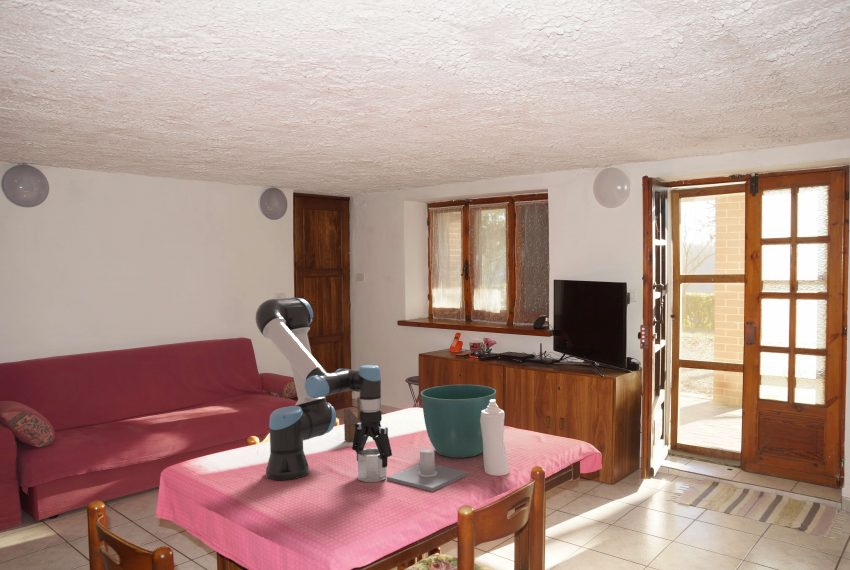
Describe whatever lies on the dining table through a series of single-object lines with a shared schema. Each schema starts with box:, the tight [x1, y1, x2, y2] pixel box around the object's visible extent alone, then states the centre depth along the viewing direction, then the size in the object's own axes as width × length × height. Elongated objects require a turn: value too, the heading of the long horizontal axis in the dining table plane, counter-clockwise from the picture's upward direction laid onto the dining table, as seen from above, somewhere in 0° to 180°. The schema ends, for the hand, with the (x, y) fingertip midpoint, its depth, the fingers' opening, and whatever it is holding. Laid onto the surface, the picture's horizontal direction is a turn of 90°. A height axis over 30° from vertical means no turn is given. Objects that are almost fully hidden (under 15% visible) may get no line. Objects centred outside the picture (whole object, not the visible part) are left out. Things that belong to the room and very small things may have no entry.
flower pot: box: [420, 384, 497, 459], centre depth 243 cm, size 30×30×24 cm
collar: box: [357, 447, 387, 483], centre depth 214 cm, size 10×10×9 cm
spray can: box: [480, 399, 510, 477], centre depth 219 cm, size 12×11×25 cm
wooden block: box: [343, 395, 363, 443], centre depth 267 cm, size 4×11×18 cm, turn 139°
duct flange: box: [386, 448, 469, 493], centre depth 213 cm, size 20×20×9 cm
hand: (372, 473), depth 214 cm, fingers closed on collar, 10 cm apart
